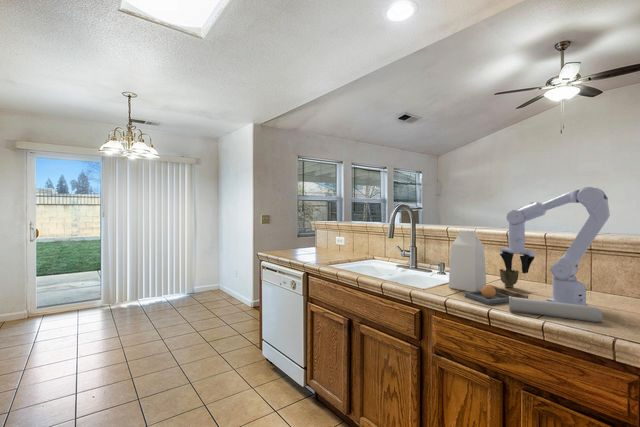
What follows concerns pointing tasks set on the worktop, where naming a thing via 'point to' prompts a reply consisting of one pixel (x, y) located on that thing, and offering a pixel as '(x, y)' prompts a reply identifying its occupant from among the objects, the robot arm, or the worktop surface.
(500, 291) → the fence
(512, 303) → the tube
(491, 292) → the egg
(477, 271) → the milk
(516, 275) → the cup
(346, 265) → the worktop surface
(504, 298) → the tray
